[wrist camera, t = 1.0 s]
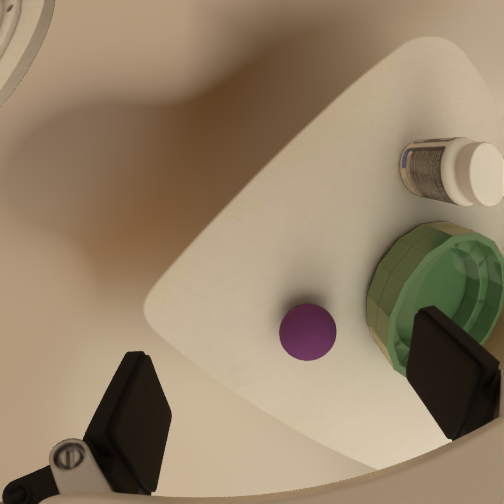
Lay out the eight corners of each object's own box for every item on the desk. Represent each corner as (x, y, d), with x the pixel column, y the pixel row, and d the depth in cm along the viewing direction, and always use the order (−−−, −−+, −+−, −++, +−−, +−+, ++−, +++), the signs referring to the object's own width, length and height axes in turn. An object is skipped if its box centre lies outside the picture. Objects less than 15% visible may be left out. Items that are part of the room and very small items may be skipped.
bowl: (395, 200, 22) (430, 209, 17) (490, 243, 24) (522, 257, 19) (341, 343, 26) (359, 376, 21) (440, 356, 27) (464, 381, 22)
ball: (285, 289, 24) (295, 315, 20) (335, 301, 24) (352, 326, 20) (269, 336, 25) (275, 367, 21) (317, 344, 25) (329, 375, 21)
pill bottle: (421, 207, 22) (487, 229, 14) (388, 166, 21) (454, 171, 13) (450, 170, 22) (518, 178, 14) (420, 128, 21) (488, 121, 13)
